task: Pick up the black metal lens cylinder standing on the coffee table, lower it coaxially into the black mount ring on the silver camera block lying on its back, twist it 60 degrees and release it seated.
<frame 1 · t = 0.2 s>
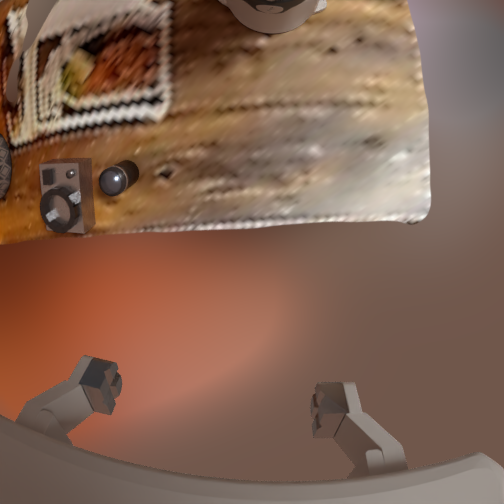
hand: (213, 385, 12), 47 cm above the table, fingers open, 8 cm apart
lens: (127, 173, 56), on the table
camera body: (73, 191, 57), on the table
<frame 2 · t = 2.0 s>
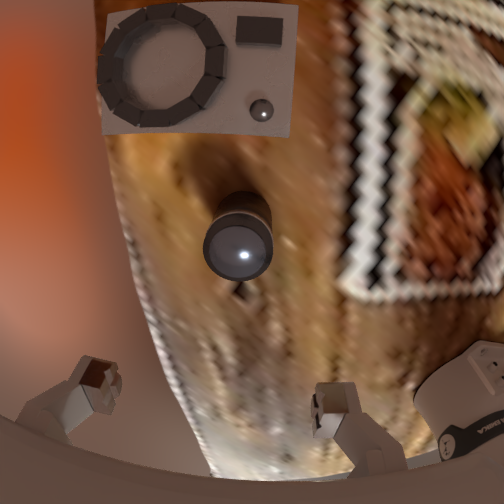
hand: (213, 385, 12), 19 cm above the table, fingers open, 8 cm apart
lens: (244, 217, 29), on the table
camera body: (205, 71, 23), on the table
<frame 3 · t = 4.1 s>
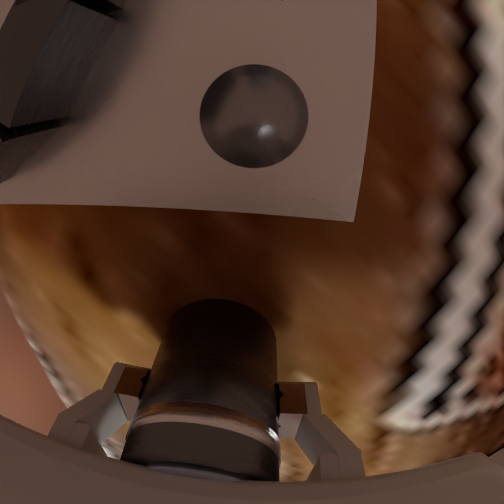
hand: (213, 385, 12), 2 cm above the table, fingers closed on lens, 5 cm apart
lens: (220, 344, 14), on the table, touching gripper
camera body: (120, 27, 8), on the table
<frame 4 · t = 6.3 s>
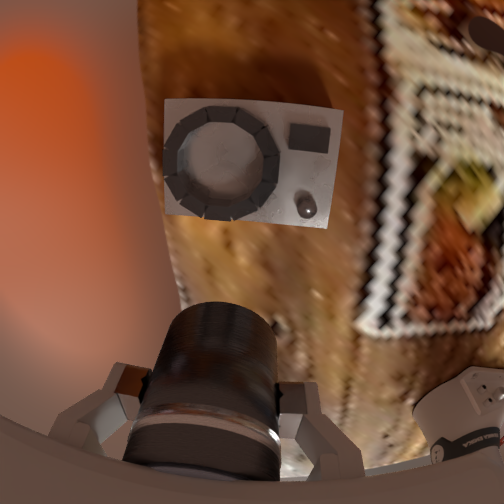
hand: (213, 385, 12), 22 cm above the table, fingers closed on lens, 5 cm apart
lens: (221, 346, 14), point 20 cm above the table, touching gripper
camera body: (253, 151, 29), on the table
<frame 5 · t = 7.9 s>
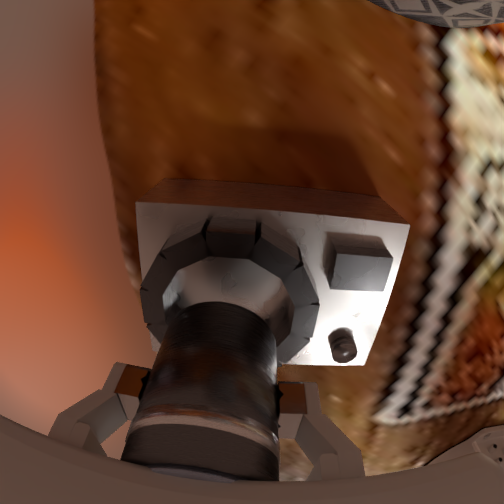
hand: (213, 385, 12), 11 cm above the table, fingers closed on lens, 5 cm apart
lens: (220, 346, 14), point 9 cm above the table, touching gripper
camera body: (267, 256, 22), on the table
when the fingers open (8 cm above the table, at t = 9.3 s): lens stays where it is, resting on camera body.
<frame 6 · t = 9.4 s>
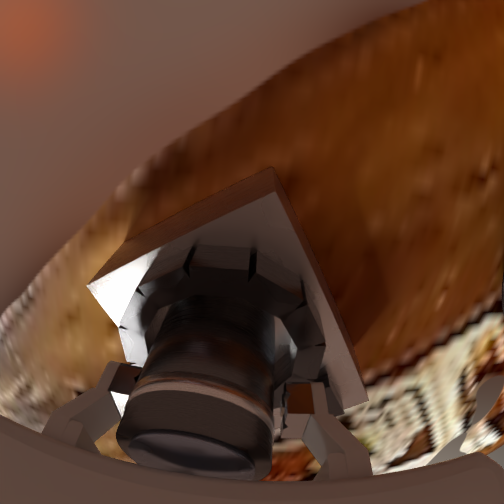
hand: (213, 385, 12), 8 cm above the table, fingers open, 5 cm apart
lens: (220, 325, 14), point 5 cm above the table, touching camera body
camera body: (247, 302, 20), on the table
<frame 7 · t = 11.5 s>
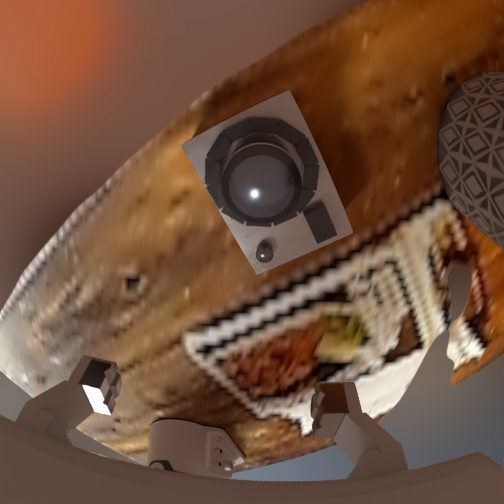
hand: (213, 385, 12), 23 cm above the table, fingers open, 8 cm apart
planter: (488, 146, 28), on the table
lens: (260, 164, 26), point 5 cm above the table, touching camera body
camera body: (270, 175, 31), on the table
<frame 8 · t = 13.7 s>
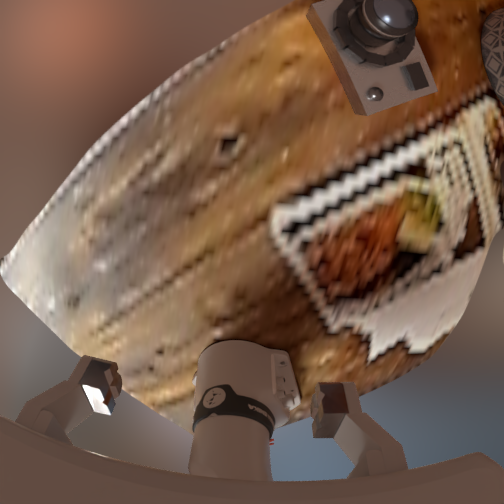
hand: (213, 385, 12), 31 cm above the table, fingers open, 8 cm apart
lens: (371, 26, 26), point 5 cm above the table, touching camera body
camera body: (366, 51, 31), on the table
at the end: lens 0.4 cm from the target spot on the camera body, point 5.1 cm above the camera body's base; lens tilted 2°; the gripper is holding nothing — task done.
